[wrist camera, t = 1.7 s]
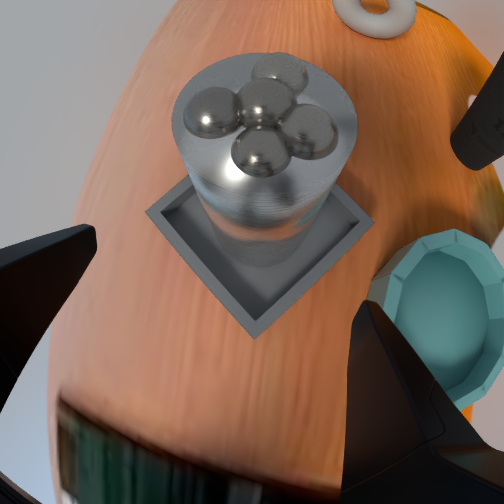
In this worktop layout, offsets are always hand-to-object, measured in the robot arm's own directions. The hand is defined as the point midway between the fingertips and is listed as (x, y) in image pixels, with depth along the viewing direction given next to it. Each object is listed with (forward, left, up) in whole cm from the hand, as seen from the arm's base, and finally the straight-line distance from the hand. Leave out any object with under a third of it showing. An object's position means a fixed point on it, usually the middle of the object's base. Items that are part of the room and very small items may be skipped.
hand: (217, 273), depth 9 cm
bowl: (+10, -12, -12) cm, 19 cm away
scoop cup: (+5, +3, -11) cm, 12 cm away
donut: (+32, +13, -12) cm, 36 cm away
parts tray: (+5, +3, -12) cm, 13 cm away
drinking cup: (+27, -5, -12) cm, 30 cm away
